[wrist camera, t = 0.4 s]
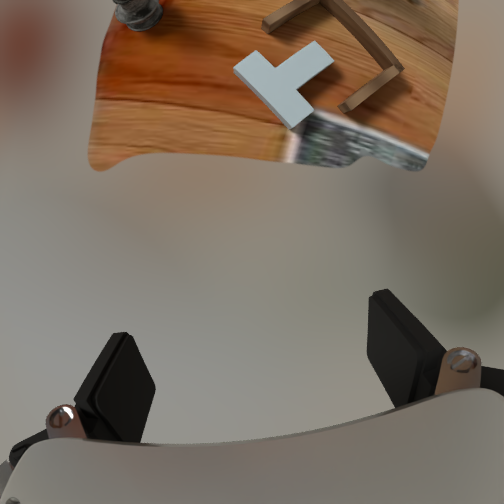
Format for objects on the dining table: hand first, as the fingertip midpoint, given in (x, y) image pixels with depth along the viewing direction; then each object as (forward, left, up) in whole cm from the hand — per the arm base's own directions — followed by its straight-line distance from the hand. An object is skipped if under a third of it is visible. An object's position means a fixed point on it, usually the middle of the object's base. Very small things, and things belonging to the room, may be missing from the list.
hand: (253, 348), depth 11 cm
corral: (-23, -9, -27) cm, 37 cm away
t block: (-16, -9, -27) cm, 33 cm away
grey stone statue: (-9, -30, -28) cm, 42 cm away
